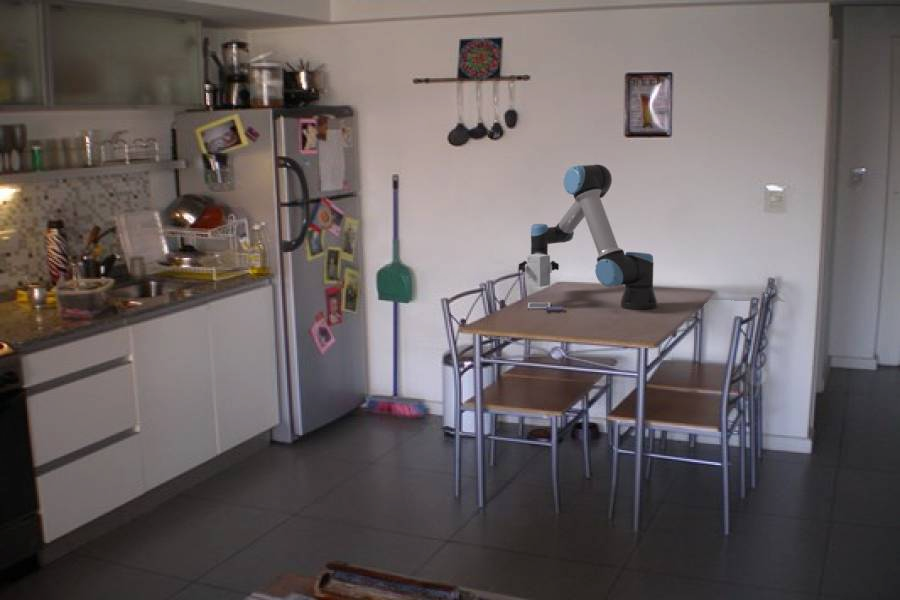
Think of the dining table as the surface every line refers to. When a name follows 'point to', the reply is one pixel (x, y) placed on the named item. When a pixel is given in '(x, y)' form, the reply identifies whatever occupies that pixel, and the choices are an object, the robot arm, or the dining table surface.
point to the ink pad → (555, 309)
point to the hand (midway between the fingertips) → (538, 269)
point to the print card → (538, 305)
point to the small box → (538, 270)
